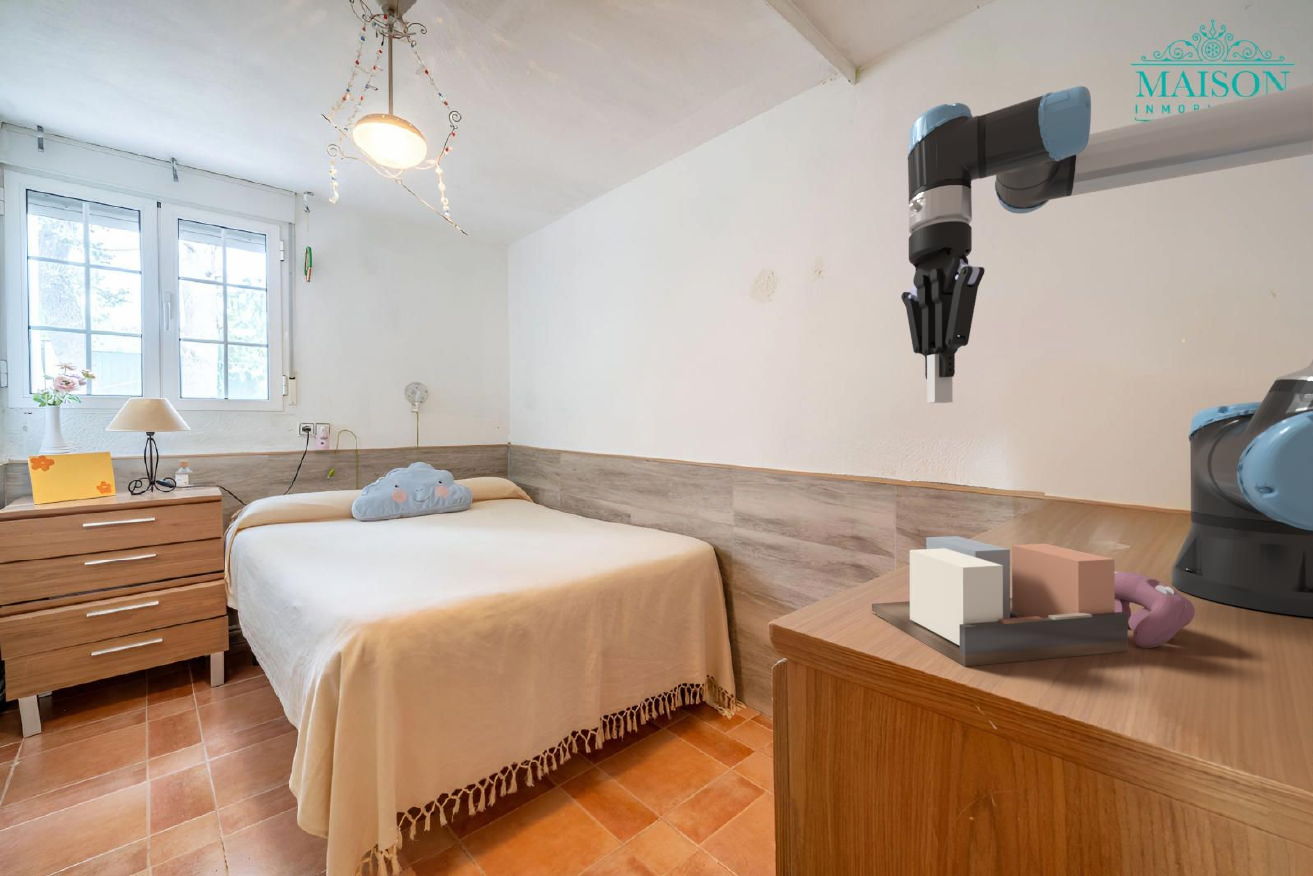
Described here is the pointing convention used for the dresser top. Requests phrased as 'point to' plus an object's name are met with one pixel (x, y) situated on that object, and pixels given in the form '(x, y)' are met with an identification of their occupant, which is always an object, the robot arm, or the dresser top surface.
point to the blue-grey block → (981, 552)
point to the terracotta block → (1060, 581)
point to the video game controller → (1151, 608)
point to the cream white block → (953, 591)
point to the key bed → (1019, 635)
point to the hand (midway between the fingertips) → (939, 402)
